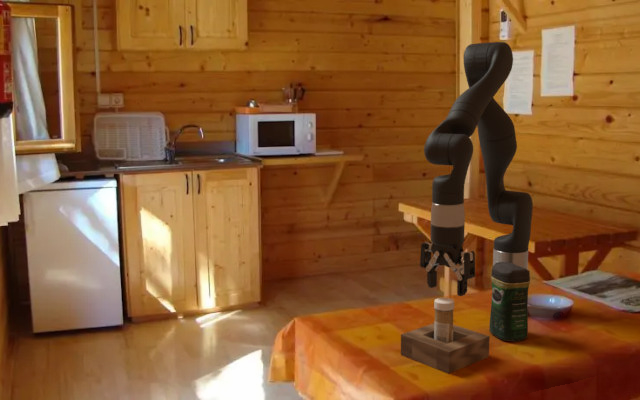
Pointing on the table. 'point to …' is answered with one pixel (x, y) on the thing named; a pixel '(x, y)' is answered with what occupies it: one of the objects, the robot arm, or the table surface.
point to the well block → (445, 348)
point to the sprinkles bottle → (443, 320)
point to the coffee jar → (509, 301)
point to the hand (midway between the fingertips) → (446, 291)
